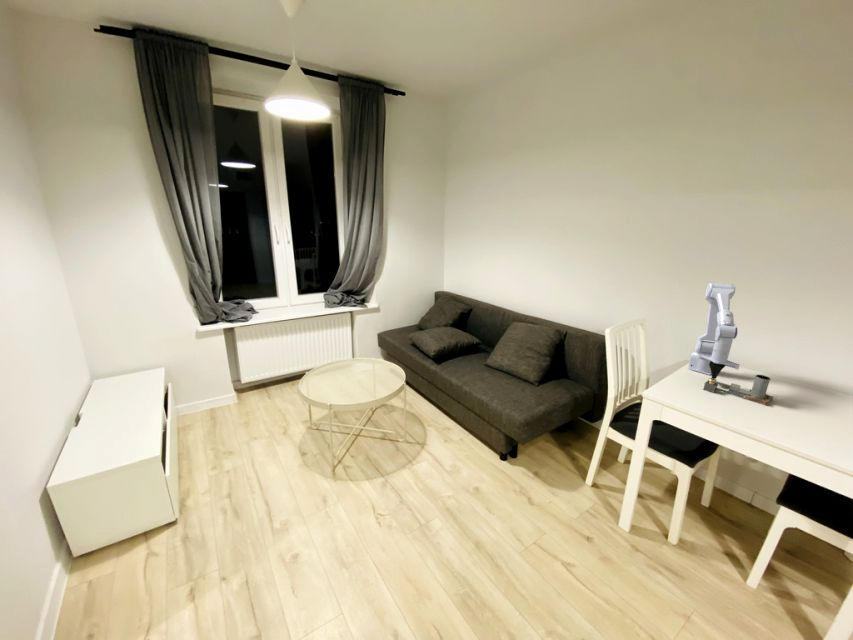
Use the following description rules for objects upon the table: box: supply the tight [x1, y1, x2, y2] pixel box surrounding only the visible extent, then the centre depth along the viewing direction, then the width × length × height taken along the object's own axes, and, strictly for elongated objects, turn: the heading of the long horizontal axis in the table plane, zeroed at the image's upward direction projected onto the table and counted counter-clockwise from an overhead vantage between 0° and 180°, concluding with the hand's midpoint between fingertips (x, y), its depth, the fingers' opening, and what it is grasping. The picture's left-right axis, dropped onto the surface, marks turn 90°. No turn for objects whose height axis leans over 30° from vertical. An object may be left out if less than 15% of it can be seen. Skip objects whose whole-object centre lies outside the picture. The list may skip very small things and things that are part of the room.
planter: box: [750, 374, 771, 401], centre depth 150 cm, size 4×4×10 cm
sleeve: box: [715, 381, 745, 399], centre depth 159 cm, size 14×8×1 cm, turn 37°
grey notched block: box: [727, 382, 751, 398], centre depth 156 cm, size 7×4×3 cm, turn 39°
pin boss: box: [703, 380, 719, 394], centre depth 158 cm, size 4×5×4 cm
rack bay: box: [743, 389, 774, 407], centre depth 151 cm, size 7×8×2 cm
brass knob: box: [707, 377, 718, 385], centre depth 158 cm, size 3×3×5 cm
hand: (713, 377), depth 162 cm, fingers closed
